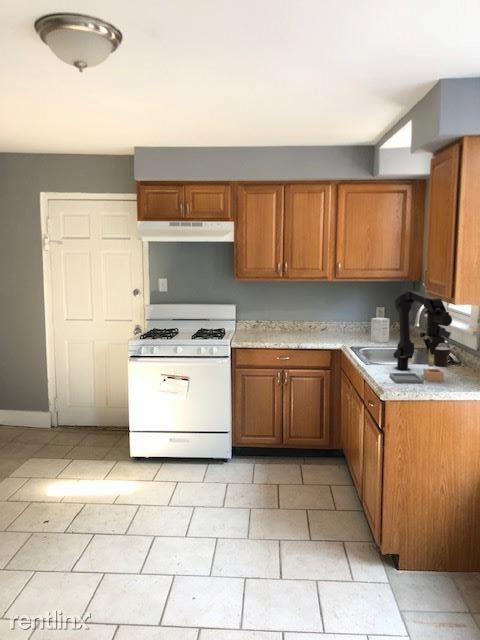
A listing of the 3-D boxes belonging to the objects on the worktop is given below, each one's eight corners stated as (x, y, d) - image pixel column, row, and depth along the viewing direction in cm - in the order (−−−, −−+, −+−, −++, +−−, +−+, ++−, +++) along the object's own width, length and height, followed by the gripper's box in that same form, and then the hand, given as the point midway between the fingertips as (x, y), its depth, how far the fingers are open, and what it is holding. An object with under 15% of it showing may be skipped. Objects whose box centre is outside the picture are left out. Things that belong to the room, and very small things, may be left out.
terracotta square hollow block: (423, 377, 252) (423, 368, 251) (437, 377, 251) (438, 369, 251) (427, 381, 244) (428, 372, 244) (443, 381, 244) (443, 372, 244)
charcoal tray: (389, 376, 253) (389, 372, 253) (415, 377, 253) (415, 373, 252) (396, 383, 240) (396, 379, 240) (423, 383, 240) (423, 379, 240)
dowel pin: (427, 365, 248) (428, 347, 247) (432, 365, 248) (433, 347, 247) (429, 366, 246) (430, 348, 245) (434, 366, 246) (434, 348, 244)
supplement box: (389, 341, 354) (390, 318, 352) (381, 343, 348) (382, 319, 346) (378, 339, 362) (378, 317, 359) (370, 341, 356) (371, 318, 354)
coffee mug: (443, 368, 272) (444, 350, 271) (429, 365, 279) (430, 348, 278) (454, 365, 279) (455, 348, 278) (441, 362, 286) (441, 345, 284)
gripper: (457, 326, 234) (455, 358, 237) (442, 320, 253) (440, 350, 255) (433, 326, 235) (431, 358, 237) (420, 320, 253) (418, 350, 255)
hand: (431, 354), depth 246 cm, fingers closed on dowel pin, 2 cm apart
